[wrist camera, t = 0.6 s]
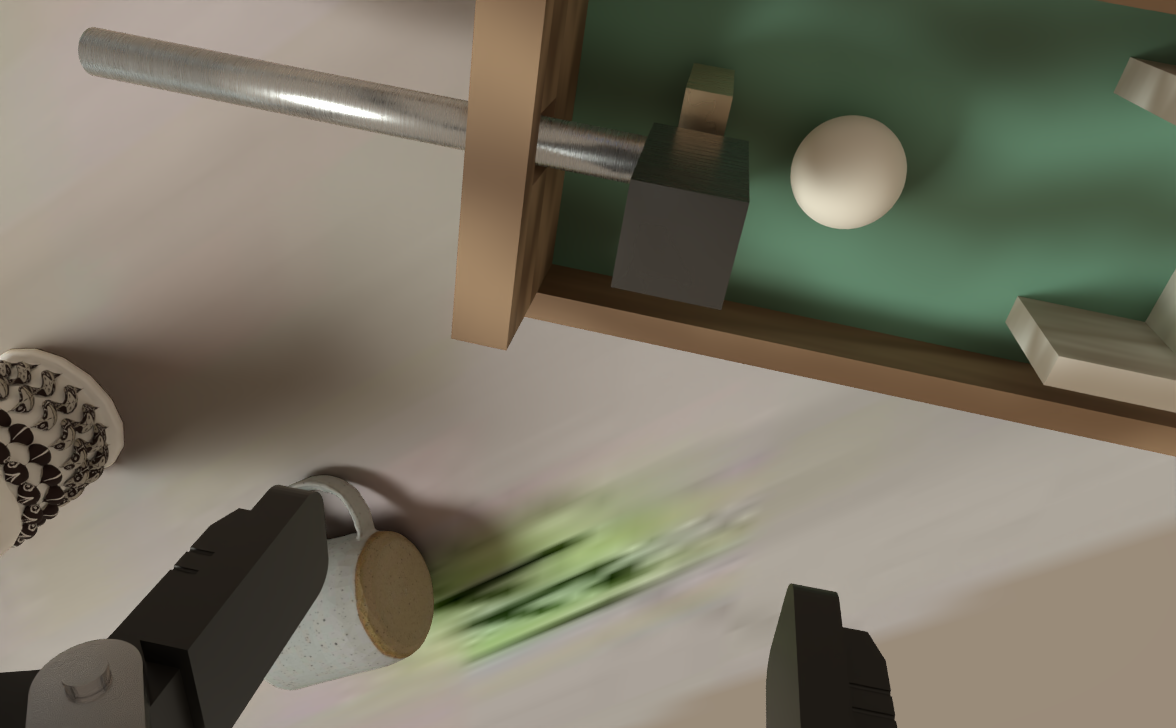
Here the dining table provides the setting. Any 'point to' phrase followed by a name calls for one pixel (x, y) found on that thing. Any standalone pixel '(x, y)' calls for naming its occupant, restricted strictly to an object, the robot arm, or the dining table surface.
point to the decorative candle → (49, 439)
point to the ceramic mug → (358, 602)
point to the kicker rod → (647, 163)
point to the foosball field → (886, 246)
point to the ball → (848, 172)
